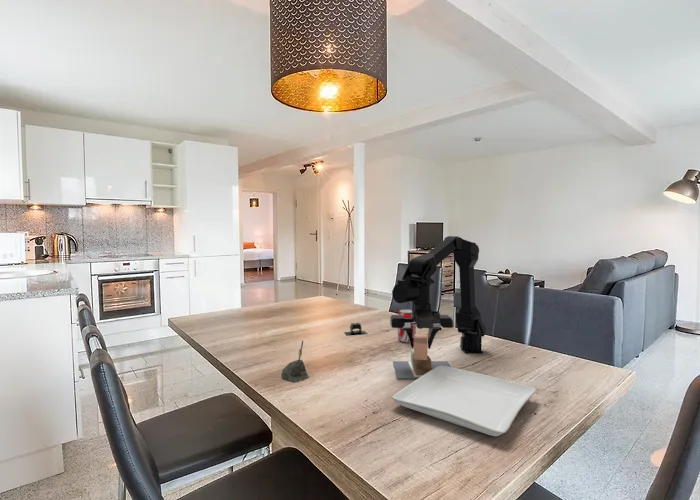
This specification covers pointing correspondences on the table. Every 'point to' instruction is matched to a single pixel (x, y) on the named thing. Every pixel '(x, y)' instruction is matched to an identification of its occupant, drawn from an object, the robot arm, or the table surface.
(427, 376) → the square plate
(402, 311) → the soda can
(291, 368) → the sword in stone
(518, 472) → the table surface
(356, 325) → the black angular block
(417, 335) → the cap block
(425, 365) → the walnut cube
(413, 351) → the green cube
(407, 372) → the mat
